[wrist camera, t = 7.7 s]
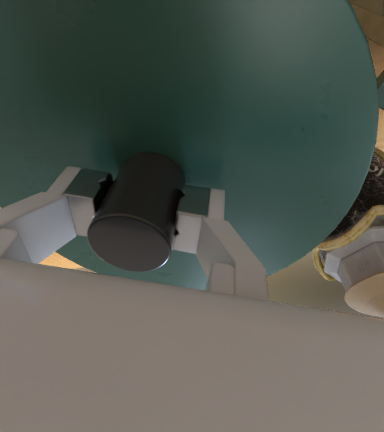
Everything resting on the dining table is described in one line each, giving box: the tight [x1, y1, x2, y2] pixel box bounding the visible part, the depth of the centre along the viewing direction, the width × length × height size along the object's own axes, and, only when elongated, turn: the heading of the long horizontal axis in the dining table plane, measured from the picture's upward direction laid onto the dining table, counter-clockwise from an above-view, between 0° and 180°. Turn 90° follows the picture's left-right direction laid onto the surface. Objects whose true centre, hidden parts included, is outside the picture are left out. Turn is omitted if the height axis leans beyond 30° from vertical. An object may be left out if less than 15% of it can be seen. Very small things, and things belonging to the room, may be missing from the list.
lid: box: [0, 0, 379, 290], centre depth 10 cm, size 16×16×5 cm
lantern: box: [312, 148, 384, 318], centre depth 21 cm, size 9×8×25 cm
